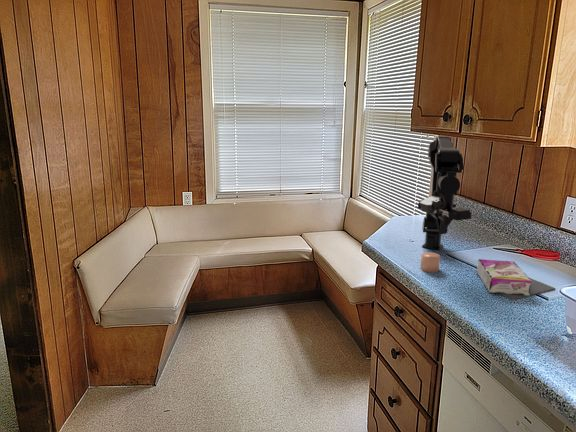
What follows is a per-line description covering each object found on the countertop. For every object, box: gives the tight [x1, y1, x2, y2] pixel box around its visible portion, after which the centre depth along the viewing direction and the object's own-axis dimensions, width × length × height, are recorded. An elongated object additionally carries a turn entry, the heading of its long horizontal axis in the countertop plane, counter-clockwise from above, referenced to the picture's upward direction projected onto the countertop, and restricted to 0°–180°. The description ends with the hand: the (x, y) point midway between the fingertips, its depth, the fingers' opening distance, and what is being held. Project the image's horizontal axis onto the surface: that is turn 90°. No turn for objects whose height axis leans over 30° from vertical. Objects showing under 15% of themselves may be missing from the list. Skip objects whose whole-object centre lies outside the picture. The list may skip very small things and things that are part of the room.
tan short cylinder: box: [420, 251, 441, 273], centre depth 142 cm, size 6×6×5 cm
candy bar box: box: [476, 258, 532, 297], centre depth 129 cm, size 11×5×16 cm
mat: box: [483, 276, 556, 301], centre depth 127 cm, size 10×18×1 cm, turn 113°
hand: (441, 234), depth 140 cm, fingers closed
